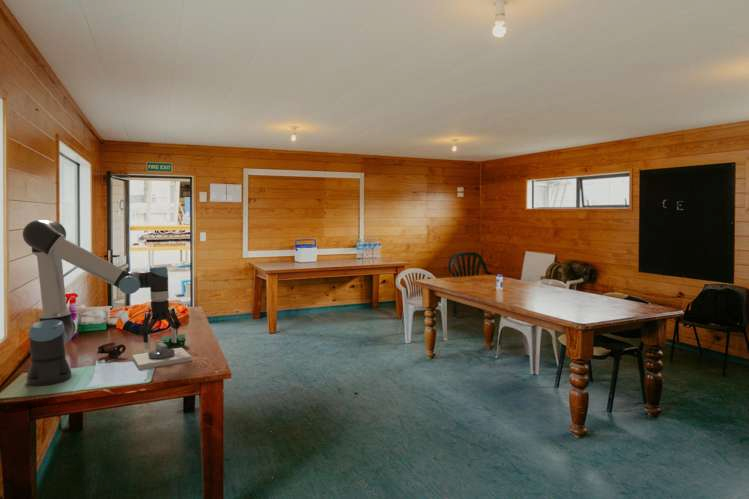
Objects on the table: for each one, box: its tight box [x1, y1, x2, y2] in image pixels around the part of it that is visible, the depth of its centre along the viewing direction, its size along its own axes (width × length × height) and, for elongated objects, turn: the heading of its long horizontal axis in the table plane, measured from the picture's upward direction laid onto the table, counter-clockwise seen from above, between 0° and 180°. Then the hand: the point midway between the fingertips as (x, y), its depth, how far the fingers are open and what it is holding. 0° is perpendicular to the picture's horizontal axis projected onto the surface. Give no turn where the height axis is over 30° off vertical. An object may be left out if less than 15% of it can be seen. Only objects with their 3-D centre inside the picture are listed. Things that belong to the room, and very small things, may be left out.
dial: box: [147, 339, 174, 359], centre depth 222 cm, size 11×11×6 cm
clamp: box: [160, 333, 187, 349], centre depth 242 cm, size 12×6×9 cm, turn 112°
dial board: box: [131, 347, 192, 370], centre depth 222 cm, size 22×18×2 cm
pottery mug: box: [96, 342, 127, 362], centre depth 226 cm, size 12×10×8 cm
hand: (161, 345), depth 221 cm, fingers open, 13 cm apart
